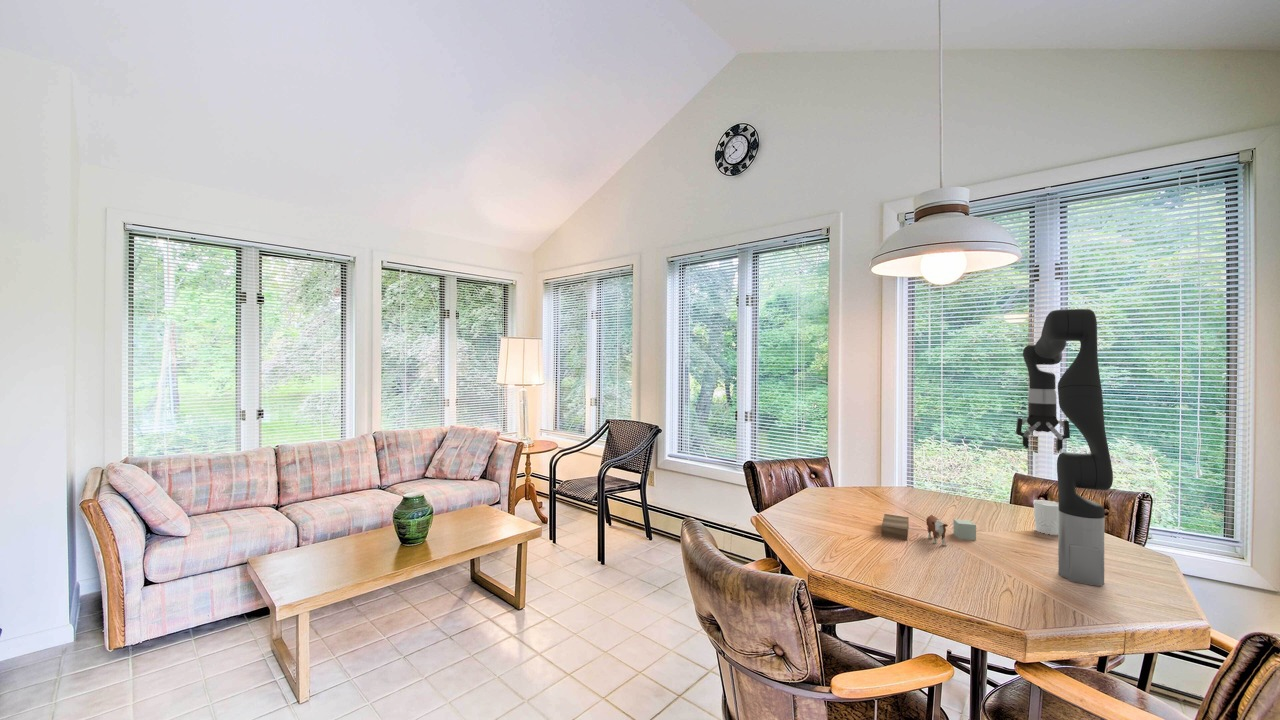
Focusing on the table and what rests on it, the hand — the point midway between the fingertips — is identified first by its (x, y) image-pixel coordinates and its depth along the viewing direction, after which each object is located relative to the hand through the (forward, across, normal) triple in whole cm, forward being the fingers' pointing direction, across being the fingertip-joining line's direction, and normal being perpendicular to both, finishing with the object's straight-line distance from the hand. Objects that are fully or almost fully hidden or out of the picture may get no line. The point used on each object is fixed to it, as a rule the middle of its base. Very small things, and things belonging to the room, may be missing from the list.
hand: (1042, 449), depth 171 cm
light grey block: (+28, +2, 0) cm, 28 cm away
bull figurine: (+29, -31, -32) cm, 53 cm away
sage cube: (+28, -23, -21) cm, 42 cm away
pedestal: (+29, -43, -28) cm, 59 cm away
